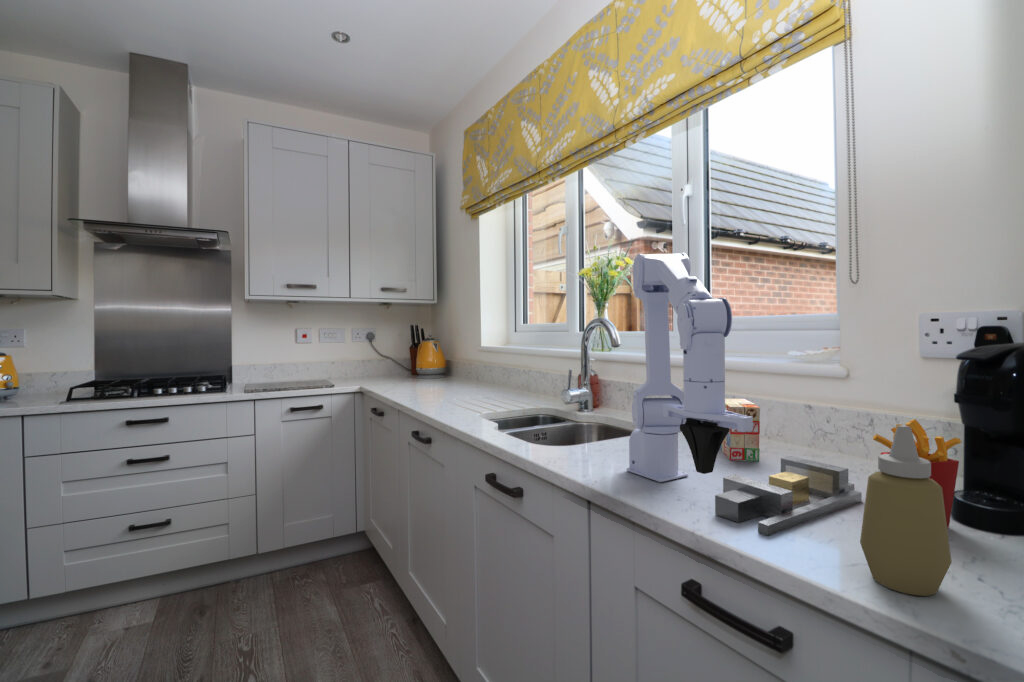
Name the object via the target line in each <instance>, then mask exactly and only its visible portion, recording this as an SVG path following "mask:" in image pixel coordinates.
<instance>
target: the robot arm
mask: <svg viewBox="0 0 1024 682" xmlns="http://www.w3.org/2000/svg"><path fill="white" fill-rule="evenodd" d="M632 287H633V292H634V298H637V299H638V300H640V301H642V302H641V303H642V306H643V312H644V313H643V314H644V336H645V337H644V339H645V341H644V342H645V343H644V345H645V370H646V381H645V382H644V383H642V384H641V385H640V386H638V387H637V388H636V389H635V390H634V392H633V394H632V404H631V417H632V422H633V425H634V427H635V428H634V429H633V431H632V432H631V433H630V436H629V440H628V442H629V443H628V447H629V449H628V451H629V452H628V453H629V455H628V456H629V458H628V461H629V462H628V463H629V467H626V471H628V472H629V473H633V474H636V475H638V476H641V477H644V478H647V479H650V480H651V481H652V480H653V481H656V482H659V483H663V482H667V481H672V480H675V479H680V478H684V477H688V476H689V473H687V472H685V471H683V470H679V433H681V434H682V435H683V437H684V439H685V440H686V442H687V445H688V447H689V450H690V452H691V456H692V459H693V463H694V466H695V471H696V472H697V473H699V474H703V475H706V474H709V473H713V472H714V469H715V463H716V460H717V457H718V453H719V451H720V450H721V449H720V446H721V444H722V442H723V440H724V439H725V437H726V435H727V434H728V433H729V428H731V429H736V430H737V431H739V432H748V431H753V417H751V416H746V415H741V414H738V413H734V412H731V411H727V409H726V408H725V399H726V352H725V351H726V346H725V345H726V343H725V342H726V338H727V337H728V336H729V334H730V333H731V330H732V325H733V312H732V307H731V305H730V302H729V301H728V299H727V298H726V297H717V298H716V297H715V298H714V297H713V296H712V294H711V293H710V292H709V291H708V289H707V288H706V287H705V286H704V285H703V283H702V281H701V280H699V279H698V277H697V276H694V275H693V276H691V261H690V258H689V256H688V255H687V253H686V252H680V253H653V254H652V253H649V254H648V253H647V254H643V253H638V254H637V255H636V256H635V258H634V261H633V266H632ZM669 303H670V304H671V306H672V308H673V310H674V312H675V313H676V315H677V318H676V323H677V324H676V325H677V330H678V335H679V345H680V350H682V351H683V353H682V356H683V360H682V361H683V363H682V367H683V373H682V374H683V375H682V376H683V378H682V379H683V380H682V381H683V390H682V389H681V388H680V387H679V386H678V385H676V384H674V383H673V382H672V376H671V375H672V372H671V371H672V370H671V350H670V347H671V346H670V323H669V320H670V318H669ZM651 396H653V397H651ZM654 396H660V397H654ZM661 396H668V397H661ZM669 396H670V397H669Z"/></svg>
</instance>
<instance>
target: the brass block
mask: <svg viewBox="0 0 1024 682" xmlns="http://www.w3.org/2000/svg"><path fill="white" fill-rule="evenodd" d="M768 484H769V485H772V486H776V487H779V488H783V489H787V490H790V491H793V506H795V505H799V504H801V503H805V502H807V501H810V493H809V477H806V476H802V475H798V474H794V473H790V472H786V471H785V472H782V473H781V472H779V473H775V474H771V475H769V476H768Z"/></svg>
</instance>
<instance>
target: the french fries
mask: <svg viewBox="0 0 1024 682" xmlns="http://www.w3.org/2000/svg"><path fill="white" fill-rule="evenodd" d="M897 426H909V427H911V430H912V434H913V437H915V438H914V441H915V445H916V449H917V453H918V456H919V457H920V458H924V459H926V460H928V461H930V462H931V476H930V477H929V478H930V479H933V480H934V481H935V482H937V483H938V484H939V485H940V486H941V487H942V491H943V499H944V507H945V515H946V523H947V527H948V528H949V527H950V522H951V516H952V511H953V503H954V498H955V497H954V496H955V491H956V485H957V484H956V483H957V477H958V471H959V465H960V464H959V463H960V461H959V460H956V459H953V458H948V451H949V449H951V448H953V447H954V446H957V445H959V444H961V443H962V440H961V439H960V438H958V437H953V438H951V439H948V440H947V441H945V437H944V436H935V437H934V442H935V445H936V451H935V452H933V453H930V451H931V449H930V442H929V440H930V438H929V437H928V435H927V432H926V430H925V429H924V428H923V426H922V425H921V423H919V422H918V420H917V419H915V418H914V419H910V420H909V421H908V422H905V423H904V425H903V424H899V423H898V424H897V423H896V425H895V427H892V428H891V429H890V431H892V432H893V437H892V440H894V436H895V433H896V429H897ZM872 440H873V441H874V442H877V443H880V444H881V445H883V446H884V447H887V448H888V449H890V450H891V447H892V443H893V441H892V440H889V439H888V438H886V437H883V436H881V435H880V434H877V433H876V434H875V435H874V436H872ZM881 454H890V451H887V452H886V451H885V452H880V455H881Z"/></svg>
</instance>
